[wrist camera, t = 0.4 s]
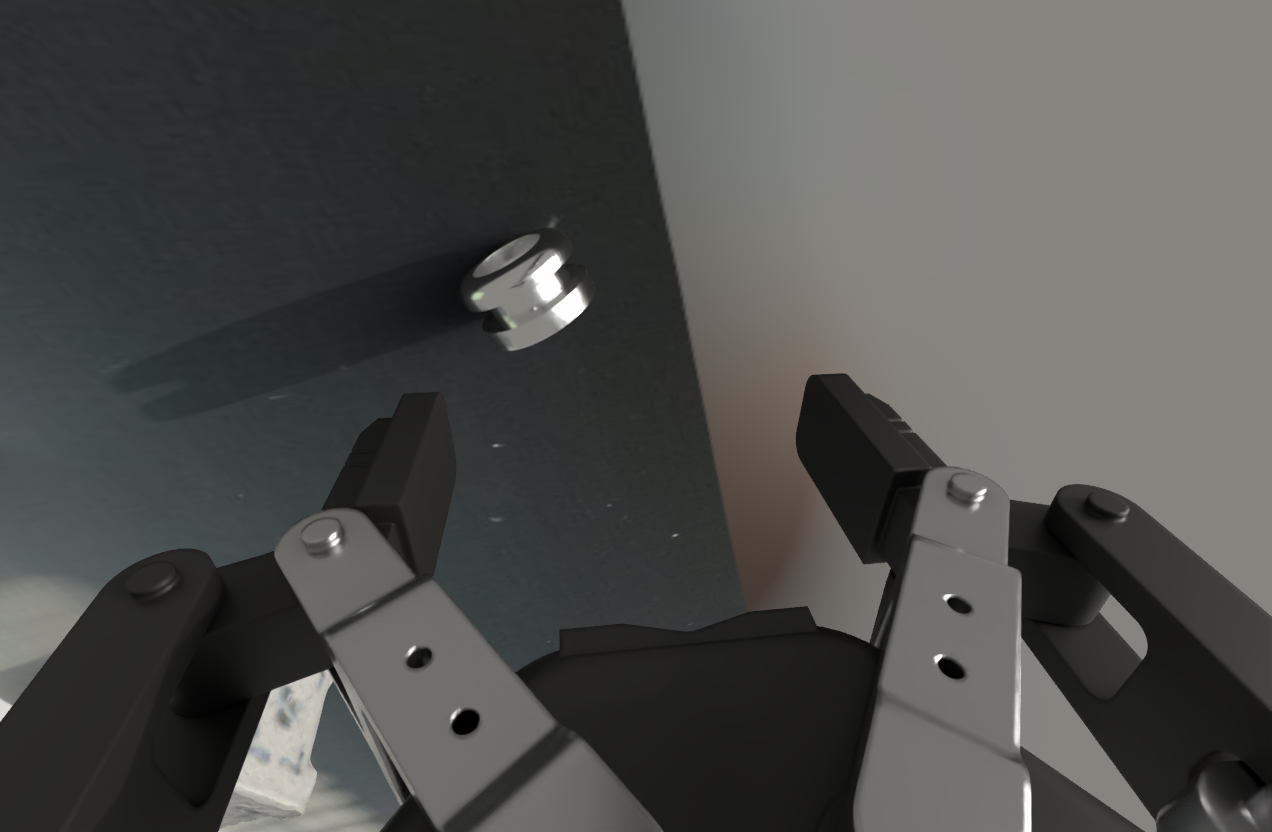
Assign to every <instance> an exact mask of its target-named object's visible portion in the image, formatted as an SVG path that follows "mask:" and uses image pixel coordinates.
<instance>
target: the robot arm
mask: <svg viewBox="0 0 1272 832" xmlns="http://www.w3.org/2000/svg"><path fill="white" fill-rule="evenodd" d="M796 447H797V452H798V456H799V458H800V460H801V461H802V464H803V465H804V467H805V469H806V470H807V472H808V473H809V475H810V477H811V478H812V480H813V482H814V483H815V485H816V487H817V488H818V490H819V491H820V493H821V495H822V497H823V498H824V500H825V501H826V503H827V505H828V506H829V508H830V510H831V511H832V513H833V515H834V516H835V518H836V520H837V521H838V523H839V525H840V526H841V528H842V530H843V531H844V533H845V534H846V536H847V538H848V539H849V541H850V543H851V544H852V546H853V548H854V549H855V551H856V553H857V554H858V556H859V558H860V559H861V561H862V563H863V564H873V563H884V562H887V563H888V564H889V566H890V567H891V569H890V572H889V576H888V578H887V581H886V584H885V588H884V592H883V595H882V599H881V603H880V606H879V610H878V614H877V617H876V621H875V625H874V629H873V633H872V636H871V640H870V643H868V642H866V641H863V640H861V639H859V638H857V637H855V636H852V635H849V634H846V633H843V632H841V631H837V630H833V629H829V628H825V627H819V626H816V624H815V621H814V619H813V617H812V615H811V613H810V610H809V608H808V607H807V606H805V607H795V608H784V609H774V610H763V611H752V612H747V613H744V614H741V615H738V616H736V617H733V618H730V619H727V620H724V621H721V622H718V623H716V624H713V625H710V626H707V627H704V628H701V629H698V630H695V631H690V632H683V631H675V630H667V629H660V628H652V627H644V626H636V625H628V624H615V625H605V626H594V627H583V628H573V629H562V630H560V650H558V651H556V652H553V653H550V654H547V655H545V656H543V657H541V658H539V659H537V660H535V661H533V662H531V663H530V664H528V665H526V666H525V667H523V668H521V669H520V670H519V671H517V672H516V673H515V671H514V670H513V669H512V668H511V667H510V666H509V664H508V663H507V662H506V661H505V660H504V659H503V657H502V656H501V655H500V654H499V653H498V652H497V650H496V649H495V648H494V647H493V646H492V645H491V643H490V642H489V641H488V640H487V639H486V638H485V636H484V635H483V634H482V633H481V632H480V631H479V629H478V628H477V627H476V626H475V625H474V624H473V622H472V621H471V620H470V619H469V618H468V617H467V615H466V614H465V613H464V612H463V611H462V610H461V608H460V607H459V606H458V605H457V604H456V603H455V601H454V600H453V599H452V598H451V597H450V596H449V594H448V593H447V592H446V591H445V590H444V589H443V587H442V586H441V585H440V584H439V583H438V582H437V580H436V579H435V578H434V577H433V575H434V570H435V566H436V562H437V557H438V553H439V549H440V544H441V540H442V536H443V531H444V527H445V523H446V518H447V514H448V510H449V506H450V501H451V497H452V493H453V488H454V484H455V479H456V457H455V450H454V445H453V440H452V435H451V430H450V425H449V419H448V414H447V409H446V404H445V400H444V397H443V395H442V393H441V392H431V393H410V394H403V395H402V397H401V399H400V402H399V404H398V406H397V408H396V411H395V413H394V415H393V417H392V418H378V419H377V420H376V421H375V422H373V423H372V424H371V425H370V426H369V427H367V428H366V429H365V430H364V431H363V432H361V433H360V435H359V437H358V439H357V441H356V443H355V445H354V447H353V449H352V453H350V455H349V457H348V459H347V461H346V463H345V467H343V469H342V470H341V472H340V474H339V476H338V478H337V480H336V482H335V484H334V486H333V488H332V490H331V492H330V494H329V496H328V498H327V500H326V502H325V504H324V506H323V508H322V510H321V511H320V512H316V513H314V514H311V515H309V516H307V517H305V518H303V519H301V520H299V521H298V522H296V523H294V524H293V525H292V526H290V527H289V528H288V529H287V530H286V531H285V532H284V533H283V534H282V535H281V536H280V538H279V539H278V541H277V543H276V545H275V549H274V551H272V552H270V553H267V554H264V555H261V556H257V557H254V558H250V559H247V560H243V561H240V562H236V563H233V564H229V565H226V566H222V567H219V568H216V567H215V565H214V563H213V561H212V560H211V558H210V556H209V555H208V554H206V553H205V552H203V551H200V550H196V549H177V550H170V551H166V552H162V553H159V554H156V555H153V556H150V557H148V558H146V559H143V560H141V561H139V562H137V563H135V564H133V565H131V566H130V567H128V568H126V569H125V570H123V571H122V572H120V573H119V574H118V575H116V576H115V577H114V578H113V579H111V580H110V581H109V582H108V583H107V584H106V585H105V586H104V587H103V589H102V590H101V591H100V592H99V594H98V595H97V596H96V597H95V599H94V600H93V601H92V603H91V604H90V605H89V607H88V608H87V609H86V611H85V612H84V613H83V614H82V616H81V617H80V618H79V620H78V621H77V622H76V624H75V625H74V626H73V628H72V629H71V630H70V631H69V633H68V634H67V635H66V637H65V638H64V639H63V641H62V642H61V643H60V645H59V646H58V647H57V648H56V650H55V651H54V652H53V654H52V655H51V656H50V658H49V659H48V660H47V662H46V663H45V664H44V665H43V667H42V668H41V669H40V671H39V672H38V673H37V675H36V676H35V677H34V679H33V680H32V681H31V683H30V684H29V685H28V686H27V688H26V689H25V690H24V692H23V693H22V694H21V696H20V697H19V698H18V700H17V701H16V702H15V703H14V705H13V706H12V707H11V709H10V710H9V711H8V713H7V714H6V715H5V717H4V718H3V719H2V721H1V722H0V832H218V831H219V828H220V825H221V823H222V820H223V817H224V815H225V812H226V810H227V807H228V804H229V802H230V799H231V796H232V794H233V791H234V788H235V786H236V783H237V780H238V778H239V775H240V772H241V770H242V767H243V764H244V762H245V759H246V757H247V754H248V751H249V749H250V746H251V743H252V741H253V738H254V735H255V733H256V730H257V727H258V725H259V722H260V719H261V717H262V714H263V711H264V709H265V706H266V703H267V701H268V698H269V696H270V693H271V690H274V689H276V688H279V687H282V686H284V685H287V684H290V683H293V682H295V681H298V680H301V679H303V678H306V677H309V676H312V675H314V674H317V673H320V672H322V671H325V670H327V671H328V672H329V674H330V676H331V678H332V680H333V681H334V683H335V685H336V687H337V688H338V690H339V692H340V694H341V696H342V697H343V699H344V701H345V703H346V705H347V706H348V708H349V710H350V712H351V714H352V715H353V717H354V719H355V721H356V722H357V724H358V726H359V728H360V730H361V731H362V733H363V735H364V737H365V739H366V740H367V742H368V744H369V746H370V748H371V750H372V751H373V753H374V755H375V757H376V759H377V761H378V763H379V765H380V767H381V769H382V771H383V773H384V775H385V777H386V779H387V781H388V783H389V785H390V787H391V788H392V790H393V792H394V794H395V796H396V798H397V800H398V801H399V803H400V805H401V806H400V807H399V809H398V810H397V811H396V812H395V813H394V815H393V816H392V817H391V818H390V820H389V821H388V822H387V823H386V825H385V826H384V827H383V828H382V829H381V831H380V832H1145V831H1143V830H1142V829H1140V828H1139V827H1137V826H1136V825H1134V824H1133V823H1132V822H1130V821H1129V820H1127V819H1126V818H1124V817H1123V816H1121V815H1120V814H1119V813H1117V812H1116V811H1114V810H1113V809H1111V808H1110V807H1108V806H1107V805H1106V804H1104V803H1103V802H1101V801H1100V800H1098V799H1097V798H1095V797H1094V796H1092V795H1091V794H1090V793H1088V792H1087V791H1085V790H1084V789H1082V788H1081V787H1079V786H1078V785H1076V784H1075V783H1074V782H1072V781H1070V780H1069V779H1068V778H1066V777H1065V776H1063V775H1062V774H1061V773H1059V772H1058V771H1056V770H1055V769H1053V768H1052V767H1050V766H1049V765H1048V764H1046V763H1045V762H1043V761H1042V760H1040V759H1039V758H1037V757H1036V756H1035V755H1033V754H1032V753H1030V752H1029V751H1027V750H1026V749H1024V748H1023V747H1021V746H1020V665H1021V664H1020V663H1021V659H1020V658H1021V637H1022V639H1023V640H1024V641H1025V643H1026V644H1027V646H1028V647H1029V648H1030V649H1031V651H1032V652H1033V653H1034V655H1035V656H1036V658H1037V659H1038V660H1039V662H1040V663H1041V665H1042V666H1043V667H1044V669H1045V670H1046V672H1047V673H1048V674H1049V676H1050V677H1051V678H1052V680H1053V681H1054V682H1055V684H1056V685H1057V686H1058V688H1059V689H1060V691H1061V692H1062V693H1063V695H1064V696H1065V698H1066V699H1067V700H1068V702H1069V703H1070V704H1071V706H1072V707H1073V708H1074V710H1075V711H1076V712H1077V714H1078V715H1079V717H1080V718H1081V719H1082V721H1083V722H1084V724H1085V725H1086V726H1087V727H1088V729H1089V730H1090V732H1091V733H1092V735H1093V736H1094V737H1095V738H1096V740H1097V741H1098V743H1099V744H1100V746H1101V747H1102V748H1103V750H1104V751H1105V752H1106V753H1107V755H1108V756H1109V758H1110V759H1111V760H1112V762H1113V763H1114V765H1115V766H1116V767H1117V769H1118V770H1119V772H1120V773H1121V774H1122V776H1123V777H1124V778H1125V780H1126V781H1127V782H1128V784H1129V785H1130V786H1131V788H1132V789H1133V791H1134V792H1135V793H1136V795H1137V796H1138V797H1139V799H1140V800H1141V802H1142V803H1143V804H1144V806H1145V807H1146V809H1147V810H1148V811H1149V813H1150V814H1151V815H1152V817H1153V818H1154V819H1155V821H1156V827H1157V832H1272V616H1270V615H1269V614H1268V613H1267V612H1266V611H1264V610H1263V609H1262V608H1261V607H1259V606H1258V605H1257V604H1256V603H1255V602H1254V601H1252V600H1251V599H1250V598H1249V597H1248V596H1246V595H1245V594H1244V593H1243V592H1241V591H1240V590H1239V589H1238V588H1237V587H1236V586H1234V585H1233V584H1232V583H1230V581H1228V580H1227V579H1226V578H1225V577H1224V576H1222V575H1221V574H1220V573H1219V572H1218V571H1216V570H1215V569H1214V568H1212V567H1211V566H1210V565H1209V564H1208V563H1207V562H1206V561H1204V560H1203V559H1202V558H1201V557H1199V556H1198V555H1197V554H1196V553H1195V552H1194V551H1192V550H1191V549H1190V548H1189V547H1188V546H1186V545H1185V544H1184V543H1183V542H1182V541H1180V540H1179V539H1178V538H1177V537H1175V536H1174V535H1173V534H1172V533H1171V532H1169V531H1168V530H1167V529H1166V528H1165V527H1163V526H1162V525H1161V524H1160V523H1159V522H1157V521H1156V520H1155V519H1154V518H1153V517H1151V516H1150V515H1149V514H1148V513H1147V512H1145V511H1144V510H1143V509H1142V508H1140V507H1139V506H1138V505H1137V504H1135V503H1133V502H1132V501H1130V500H1128V499H1127V498H1125V497H1123V496H1121V495H1119V494H1116V493H1114V492H1111V491H1109V490H1106V489H1102V488H1099V487H1094V486H1089V485H1081V484H1073V485H1067V486H1064V487H1062V488H1060V489H1059V490H1058V492H1057V494H1056V496H1055V498H1054V499H1053V501H1052V503H1051V505H1050V506H1049V505H1043V504H1036V503H1029V502H1022V501H1015V500H1009V497H1008V495H1007V494H1006V492H1005V491H1004V490H1003V489H1002V488H1001V487H1000V486H999V485H998V484H997V483H995V482H994V481H992V480H991V479H989V478H988V477H986V476H984V475H982V474H979V473H977V472H974V471H971V470H968V469H964V468H959V467H950V466H949V467H948V466H946V464H944V462H943V461H942V460H941V459H940V458H939V457H938V456H937V455H936V454H935V453H934V452H933V451H932V450H931V449H930V448H929V447H928V446H927V445H926V444H925V442H924V441H922V439H921V438H920V437H919V436H918V435H917V434H916V433H913V430H912V429H911V428H910V427H909V426H908V425H907V423H906V422H902V418H901V417H900V416H899V415H898V414H897V413H896V412H895V411H894V410H893V409H892V408H891V407H890V406H889V405H888V404H886V403H884V402H883V401H881V400H879V399H877V398H875V397H874V396H872V395H870V394H865V393H864V392H863V391H862V390H861V389H860V388H859V387H858V386H857V385H856V383H854V381H853V380H852V379H851V378H850V377H849V376H848V375H847V374H821V375H811V376H810V377H809V379H808V380H807V383H806V387H805V392H804V397H803V402H802V407H801V412H800V417H799V422H798V427H797V432H796ZM1110 595H1112V596H1113V597H1114V598H1115V599H1116V600H1117V601H1118V602H1119V603H1120V604H1121V605H1122V606H1123V607H1124V608H1125V609H1126V610H1127V611H1128V612H1129V613H1130V615H1132V617H1133V618H1134V619H1136V621H1137V622H1138V623H1139V624H1140V626H1141V627H1142V629H1143V631H1144V633H1145V635H1146V638H1147V643H1148V650H1147V654H1146V656H1145V658H1144V659H1143V660H1142V659H1141V658H1140V657H1139V656H1138V655H1137V654H1136V652H1135V651H1134V650H1133V649H1132V648H1131V647H1130V646H1129V645H1128V644H1127V643H1126V641H1125V640H1124V639H1123V638H1122V637H1121V636H1120V635H1119V634H1118V632H1117V631H1115V629H1114V628H1113V627H1112V626H1111V625H1110V624H1109V623H1108V621H1107V620H1106V619H1105V618H1104V617H1103V616H1102V615H1101V614H1100V613H1099V611H1100V609H1101V608H1102V606H1103V605H1104V604H1105V602H1106V601H1107V599H1108V597H1109V596H1110Z"/></svg>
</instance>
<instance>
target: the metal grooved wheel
mask: <svg viewBox="0 0 1272 832" xmlns="http://www.w3.org/2000/svg"><path fill="white" fill-rule="evenodd" d="M571 252H572V245H571V243H570V241H569V239H568V238H567V236H566V235H565V234H564V233H563V232H561V231H560V230H558V229H555V228H541V229H537V230H533V231H530V232H528V233H525V234H523V235H521V236H518V237H516V238H514V239H512V240H511V241H509V242H507V243H505V244H504V245H502V246H500V247H499V248H497V249H496V250H494V251H493V252H491V253H490V254H488V255H487V256H486V257H484V258H483V259H482V260H480V261H479V262H478V263H477V264H476V265H475V266H474V267H473V268H472V269H471V270H470V271H469V272H468V273H467V274H466V276H465V277H464V279H463V281H462V283H461V286H460V296H461V299H462V301H463V303H464V304H465V305H466V307H467V308H468V310H469V311H471V312H483V311H487V310H490V312H489V313H488V314H487V316H486V317H485V319H484V321H483V324H482V328H483V330H484V332H485V333H486V335H487V336H488V337H489V339H490V340H491V342H492V343H493V344H494V346H495V347H496V348H497V349H498V350H501V351H514V350H519V349H522V348H526V347H528V346H531V345H533V344H536V343H538V342H540V341H542V340H544V339H546V338H548V337H550V336H551V335H553V334H555V333H556V332H558V331H559V330H561V329H562V328H564V327H565V326H567V325H568V324H569V323H570V322H572V321H573V320H574V319H575V318H576V317H578V316H579V315H580V314H581V313H582V312H583V311H584V310H585V308H586V307H587V306H588V305H589V303H590V302H591V301H592V299H593V297H594V294H595V286H594V284H593V282H592V280H591V279H590V277H589V275H588V273H587V271H586V270H585V268H584V266H582V265H580V264H567V265H563V264H564V263H565V262H566V260H567V259H568V258H569V256H570V255H571Z"/></svg>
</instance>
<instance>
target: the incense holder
mask: <svg viewBox="0 0 1272 832" xmlns="http://www.w3.org/2000/svg"><path fill="white" fill-rule="evenodd" d="M332 682H333V680H332V678H331V676H330V674H329V672H328V671H327V670H325V671H322V672H320V673H317V674H314V675H312V676H309V677H306V678H303V679H301V680H298V681H295V682H293V683H290V684H287V685H284V686H282V687H279V688H276V689H274V690H271V693H270V696H269V698H268V701H267V703H266V706H265V709H264V711H263V714H262V717H261V719H260V722H259V725H258V727H257V730H256V733H255V735H254V738H253V741H252V743H251V746H250V749H249V751H248V754H247V757H246V759H245V762H244V764H243V767H242V770H241V772H240V775H239V778H238V780H237V783H236V786H235V788H234V791H233V794H232V796H231V799H230V802H229V804H228V807H227V810H226V812H225V815H224V817H223V820H222V823H221V825H220V828H223V827H226V826H233V825H237V824H239V823H241V822H245V821H252V820H256V819H260V818H263V817H274V818H278V819H280V820H283V819H291V818H294V817H297V816H301V815H302V814H303V813H304V812H306V805H307V803H308V800H309V798H310V795H311V792H312V790H313V787H314V785H315V781H316V776H317V771H316V770H315V769H314V768H313V766H312V764H311V762H310V755H311V751H312V747H313V743H314V740H315V736H316V732H317V728H318V724H319V720H320V715H321V712H322V708H323V703H324V699H325V695H326V693H327V690H328V688H329V687H330V685H331V684H332Z"/></svg>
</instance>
